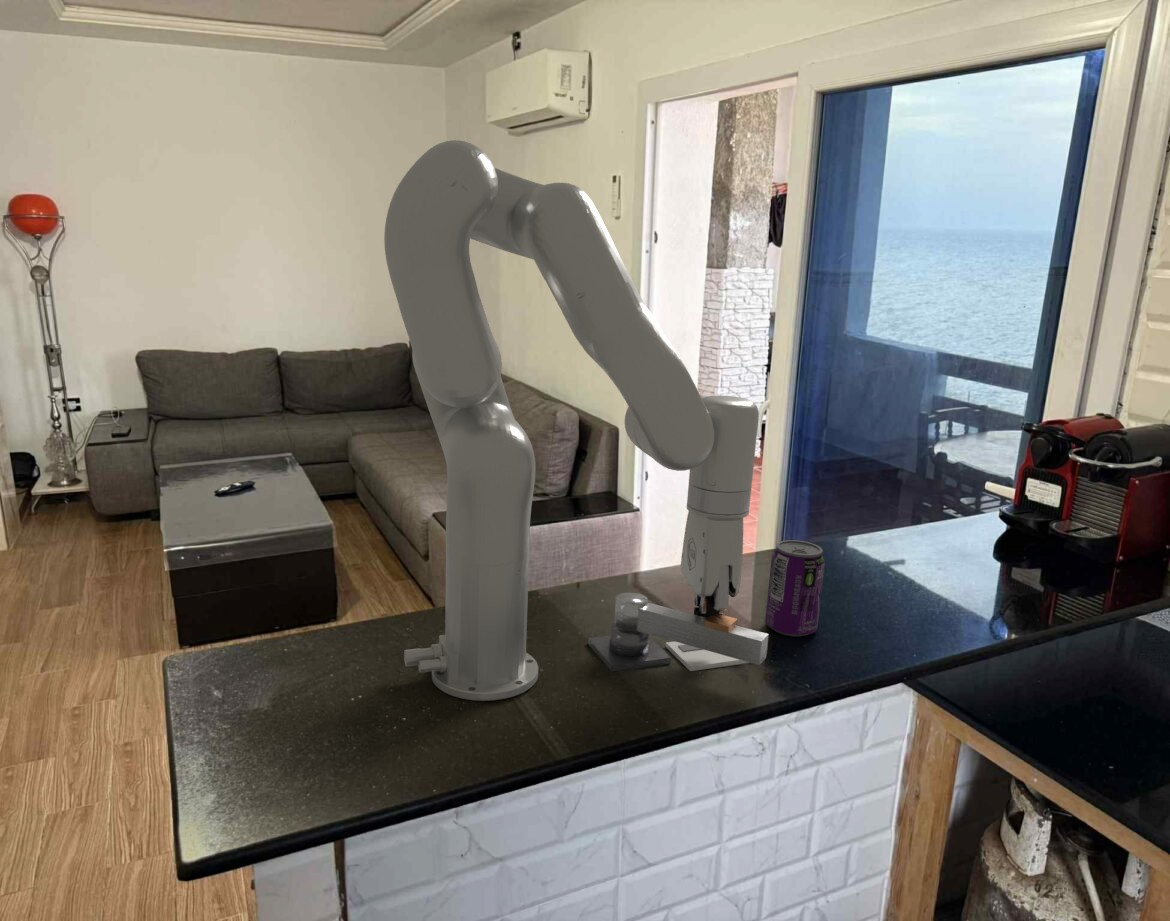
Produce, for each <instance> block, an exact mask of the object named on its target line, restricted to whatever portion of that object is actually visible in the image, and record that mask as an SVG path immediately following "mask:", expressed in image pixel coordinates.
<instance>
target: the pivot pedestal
mask: <svg viewBox="0 0 1170 921" xmlns="http://www.w3.org/2000/svg"><path fill="white" fill-rule="evenodd" d="M614 623H615V621H614V622H612V623H611V624H610V628H609V635H603V636H594V637H593V636H592V637H588V639H587V644H588V645H589V647H590V648H591V649H592V651H594V653H595V654H596V655H597V656H598V657H599V659H601V661H602V663H603V664H604V665H605V666H606V667H607V669H608V670H609V671H610V672H611V673H612V672H618V671H625V670H632V669H634V670H635V669H639V668H649V667H654V666H655V667H657V666H663V665H669V664H671V656H670V655H669V654H668V653H667V652H666V651H665V650H663V648H662V647H661V646H660V645H659V644H658V643H657V642H656V641H654V639H652V637H651V635H650V634H646V633H643V632H639V631H625V630H622V629H619V628H617V627H616V626H615V624H614Z"/></svg>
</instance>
